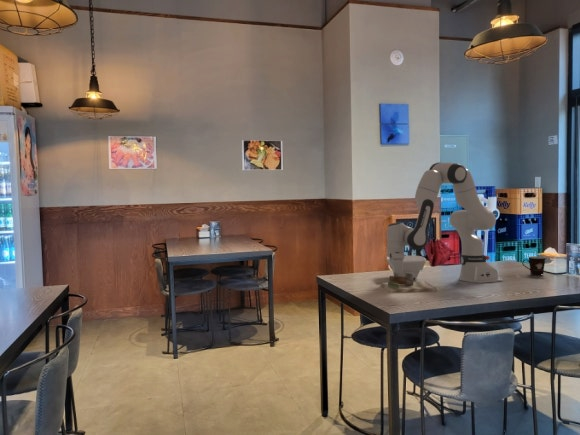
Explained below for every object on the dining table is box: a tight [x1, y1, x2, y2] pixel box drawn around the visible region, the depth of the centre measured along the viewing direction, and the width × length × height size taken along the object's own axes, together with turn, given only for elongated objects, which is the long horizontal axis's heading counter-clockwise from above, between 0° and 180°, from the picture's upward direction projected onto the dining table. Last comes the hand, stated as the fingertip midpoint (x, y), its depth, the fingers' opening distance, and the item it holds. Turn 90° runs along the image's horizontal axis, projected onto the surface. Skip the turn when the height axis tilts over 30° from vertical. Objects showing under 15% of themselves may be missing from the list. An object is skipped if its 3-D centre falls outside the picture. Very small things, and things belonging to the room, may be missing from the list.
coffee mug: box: [522, 256, 546, 276], centre depth 273 cm, size 12×9×10 cm
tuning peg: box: [389, 272, 414, 285], centre depth 244 cm, size 12×4×6 cm, turn 82°
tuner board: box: [380, 281, 438, 294], centre depth 243 cm, size 24×18×4 cm
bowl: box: [386, 255, 427, 279], centre depth 272 cm, size 22×22×12 cm
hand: (395, 279), depth 246 cm, fingers closed
